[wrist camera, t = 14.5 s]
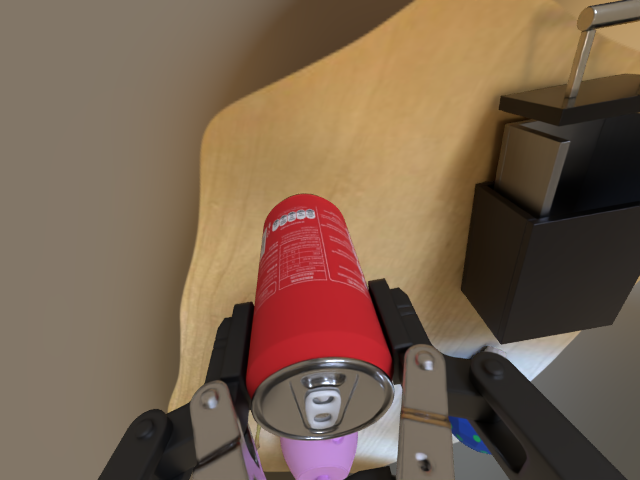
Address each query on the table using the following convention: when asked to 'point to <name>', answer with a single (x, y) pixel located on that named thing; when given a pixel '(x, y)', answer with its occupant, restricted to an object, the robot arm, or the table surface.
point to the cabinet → (548, 266)
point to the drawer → (575, 134)
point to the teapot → (320, 457)
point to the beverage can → (314, 329)
